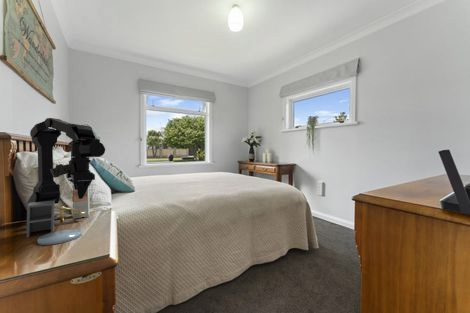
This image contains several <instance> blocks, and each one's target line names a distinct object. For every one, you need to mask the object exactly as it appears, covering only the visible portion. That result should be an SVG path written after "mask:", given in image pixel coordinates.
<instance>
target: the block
mask: <svg viewBox="0 0 470 313" xmlns="http://www.w3.org/2000/svg"><path fill="white" fill-rule="evenodd" d="M71 191H72V192H71V194H72V195H71V198H72V200H71V201H72V203H73V202H79V201H87V191H86V193H85V195H84V197H83V198H82V199H79V197H78V192H77V190H73V189H72V190H71Z"/></svg>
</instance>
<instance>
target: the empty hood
mask: <svg viewBox="0 0 470 313" xmlns="http://www.w3.org/2000/svg"><path fill="white" fill-rule="evenodd" d="M54 221H55V218H51V215H47V216H39V217H32V218H31V219H30V221H29V222H27V221H26V238H30V235H32V233H35V232H42V231H47V230H50V233H52V232H55V231H54V230H55V226H54Z"/></svg>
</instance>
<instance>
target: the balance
mask: <svg viewBox="0 0 470 313" xmlns="http://www.w3.org/2000/svg"><path fill="white" fill-rule="evenodd" d="M55 209H57V210H59V219H58V220H54V227H55V226H61V225H66V224H67V225H68V224H75V222H76V221H75V219H74V218H73V217H71V218H65V210H68V211H73V210H77V211H80V209H74V208H73V207H65V206H64V205H62V206H54V210H55ZM85 213H86V212H85V211H80V212H75V213H74V215H81V214H85Z"/></svg>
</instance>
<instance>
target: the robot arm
mask: <svg viewBox="0 0 470 313" xmlns="http://www.w3.org/2000/svg"><path fill="white" fill-rule="evenodd" d="M62 132H63V133H65V136H66V137H68V138H69V139H71V141H70V142H69V143H68V146H70V159H69V160H68V163H66V164H62V163H60V164H56V165H55V167H54V152H53V150H54V147H55V145H56V144H57V142H58V139H59V137H60V136H61V135H62ZM29 136H30V138H31V142H32V143H33V145H34V146H35V147H36V148H37V174H38V176H37V177H38V178H37V179H38V182H37V183H36V185H35V186H34V187H33V189H32V194H31V195H30V196H29V199H28V200H27V205H28V204H29V203H32V202H43V201H54V200H55V203H54V205H55V204H59V202H60V198H61V189H60V188H61V186H60V184H59V183H56V181H55V178H59V177H61V176H63V175H66V179H68V181H69V182H71V183H72V186H73V185H74V188H75V190H77V192H78V197H79V199H82V198H83V197H84V195H85V193H86V191H87V189H88V187H89V188H90V185H91V183H92V182H93V181H95V180H96V174H95V173H93V172H92V171H91V170H90V163H91V162H92V160H91V159H90V158H100V157H102V156H104V154H105V152H106V147H105V146H104V144H103V143H102V142H101V140H100V139H101V138H98V137H97V136H96V134H95V132H94V130H93V127H91V126H90V125H83V124H77V123H72V122H67V121H64V120H62V119H60V118H54V117H46V118H45V119H44V120H43V121H41V122H37V123H36V124H34V126H33V127H32V128H31V129H30V132H29ZM56 217H57V215H54V219H55V218H56Z"/></svg>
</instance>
